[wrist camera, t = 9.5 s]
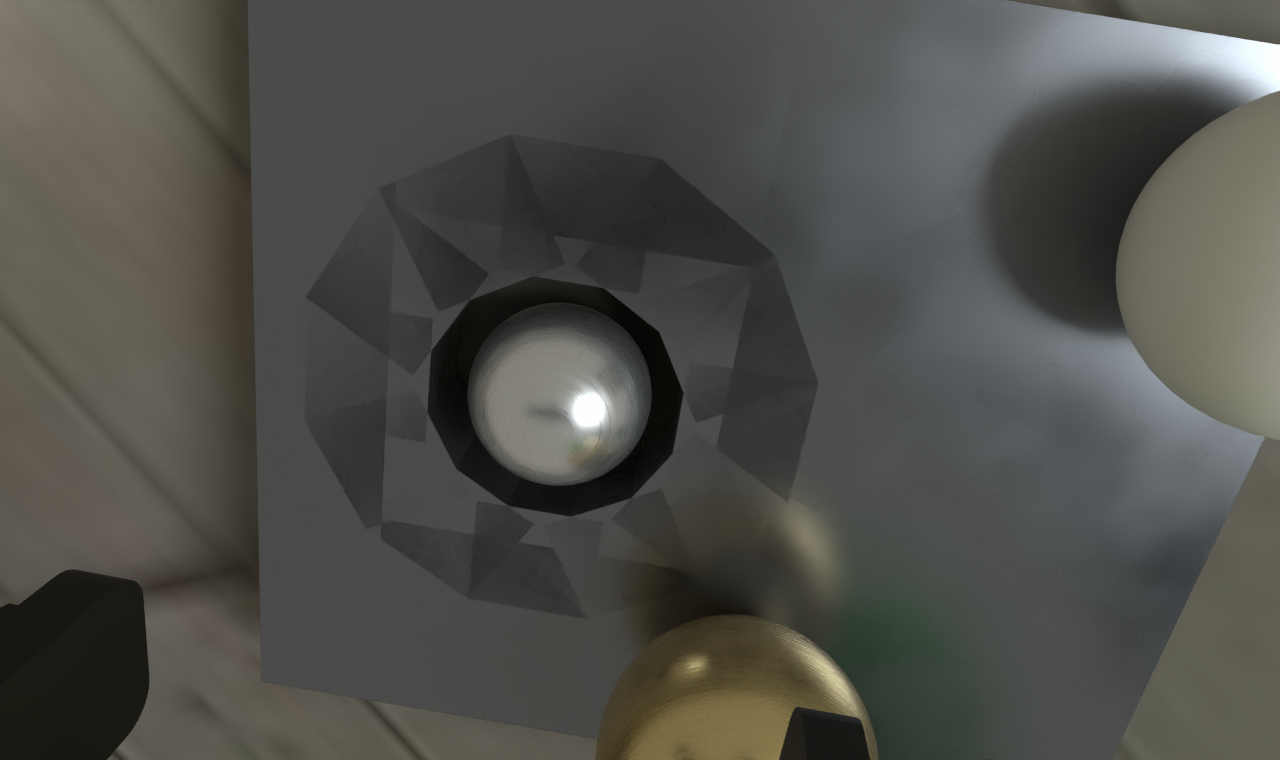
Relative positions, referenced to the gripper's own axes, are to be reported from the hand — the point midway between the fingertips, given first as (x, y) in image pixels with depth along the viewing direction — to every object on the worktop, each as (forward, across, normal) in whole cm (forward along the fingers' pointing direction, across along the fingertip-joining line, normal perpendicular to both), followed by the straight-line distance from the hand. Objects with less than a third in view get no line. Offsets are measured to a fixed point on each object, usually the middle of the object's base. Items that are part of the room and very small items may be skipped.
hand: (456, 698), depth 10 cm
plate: (+11, -4, 0) cm, 12 cm away
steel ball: (+9, 0, 0) cm, 9 cm away
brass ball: (+6, -5, +6) cm, 9 cm away
